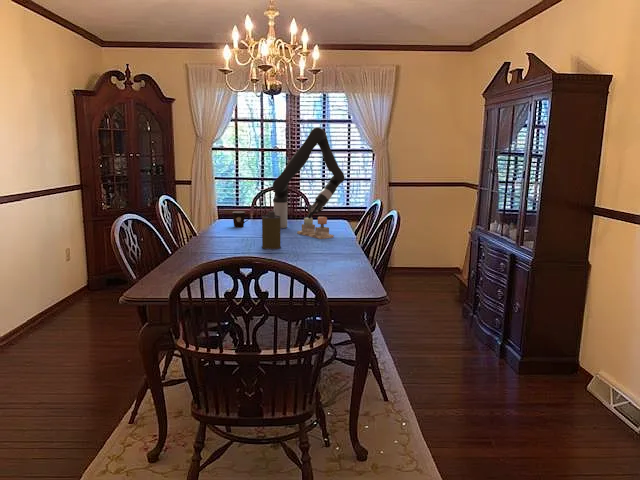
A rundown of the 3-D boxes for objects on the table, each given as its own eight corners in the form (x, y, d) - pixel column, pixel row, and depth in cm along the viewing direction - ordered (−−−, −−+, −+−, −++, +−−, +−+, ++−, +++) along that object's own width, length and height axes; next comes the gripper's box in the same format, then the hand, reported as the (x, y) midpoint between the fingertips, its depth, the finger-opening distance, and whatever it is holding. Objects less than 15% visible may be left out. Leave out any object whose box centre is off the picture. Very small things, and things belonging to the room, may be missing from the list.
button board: (297, 233, 333) (297, 224, 332) (309, 231, 339) (309, 222, 338) (320, 239, 314) (320, 229, 313) (333, 237, 321) (333, 227, 320)
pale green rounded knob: (302, 228, 332) (302, 218, 331) (309, 227, 335) (309, 217, 334) (307, 229, 328) (307, 219, 326) (314, 229, 331) (314, 218, 330)
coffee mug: (230, 227, 353) (230, 212, 351) (235, 225, 361) (235, 211, 359) (246, 228, 350) (245, 213, 348) (251, 226, 358) (251, 211, 356)
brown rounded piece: (315, 228, 321) (315, 217, 320) (322, 227, 324) (323, 216, 323) (321, 229, 316) (321, 218, 315) (328, 228, 320) (328, 217, 319)
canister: (283, 248, 285) (283, 212, 281) (264, 250, 281) (264, 213, 277) (277, 245, 294) (277, 210, 291) (259, 246, 291) (259, 210, 287)
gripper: (314, 192, 339) (298, 212, 333) (327, 194, 328) (311, 214, 323) (320, 200, 343) (305, 220, 337) (333, 202, 333) (318, 222, 327)
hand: (308, 217), depth 330 cm, fingers closed
